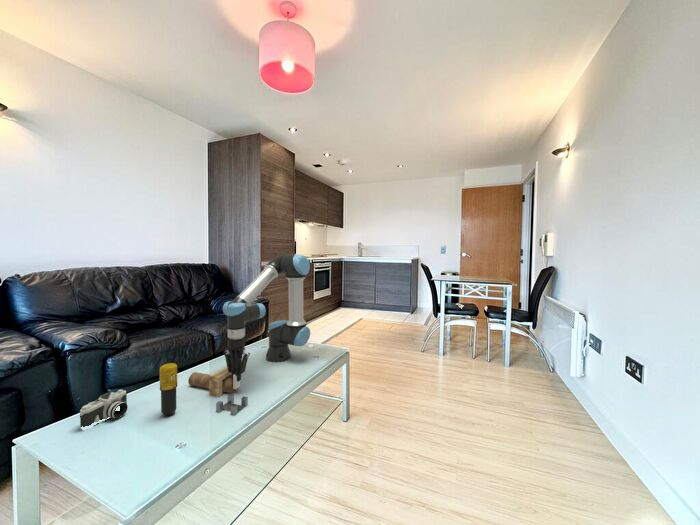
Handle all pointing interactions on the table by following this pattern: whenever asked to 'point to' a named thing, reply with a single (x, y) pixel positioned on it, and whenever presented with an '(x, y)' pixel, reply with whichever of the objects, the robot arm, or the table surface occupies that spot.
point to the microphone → (168, 388)
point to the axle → (203, 382)
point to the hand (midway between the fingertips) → (236, 387)
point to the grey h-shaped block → (231, 405)
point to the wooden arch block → (218, 381)
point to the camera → (104, 408)
